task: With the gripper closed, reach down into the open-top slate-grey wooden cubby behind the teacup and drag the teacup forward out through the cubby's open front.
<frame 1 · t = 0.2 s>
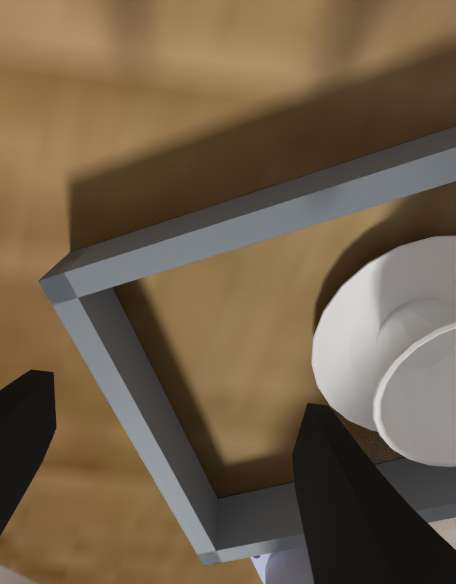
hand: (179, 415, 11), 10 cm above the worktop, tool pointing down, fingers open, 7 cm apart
teacup: (415, 332, 22), on the worktop
cubby: (357, 352, 22), on the worktop
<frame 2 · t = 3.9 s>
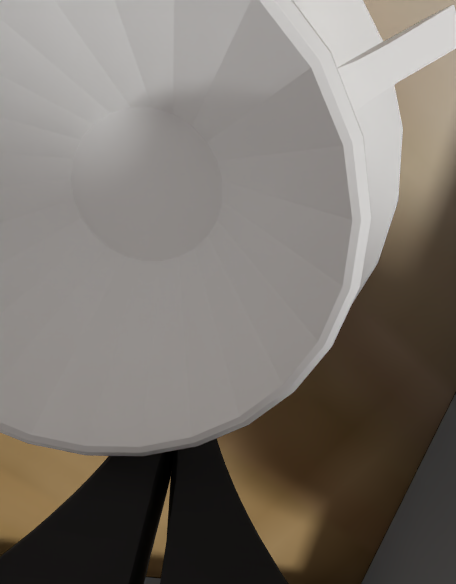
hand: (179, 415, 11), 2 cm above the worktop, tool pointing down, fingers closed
teacup: (152, 185, 11), on the worktop, touching gripper
cubby: (186, 377, 13), on the worktop
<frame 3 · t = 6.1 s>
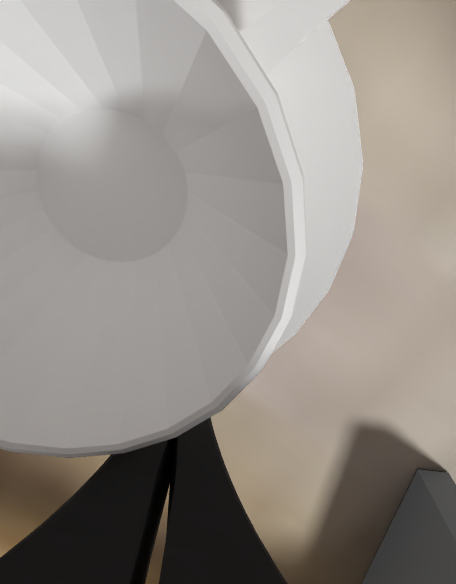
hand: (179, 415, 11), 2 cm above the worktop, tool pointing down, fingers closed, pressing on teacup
teacup: (120, 186, 11), on the worktop, touching gripper
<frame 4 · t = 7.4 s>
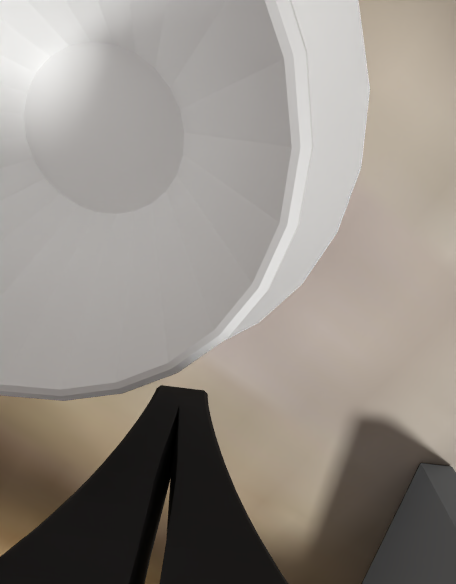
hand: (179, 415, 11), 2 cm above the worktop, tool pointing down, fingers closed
teacup: (113, 133, 10), on the worktop
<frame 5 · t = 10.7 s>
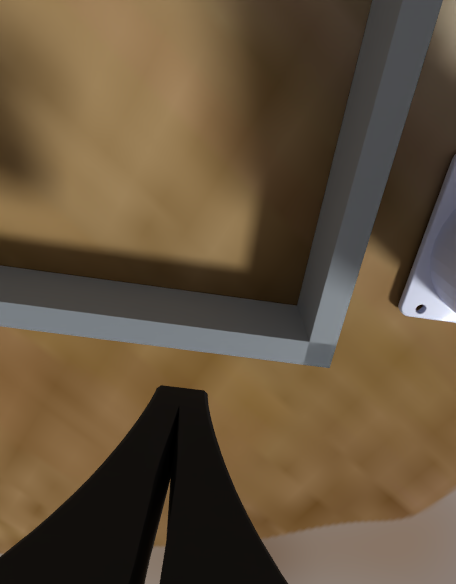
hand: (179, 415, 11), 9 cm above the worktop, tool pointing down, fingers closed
cubby: (131, 15, 15), on the worktop
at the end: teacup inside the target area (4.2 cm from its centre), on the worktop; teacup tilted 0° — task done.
